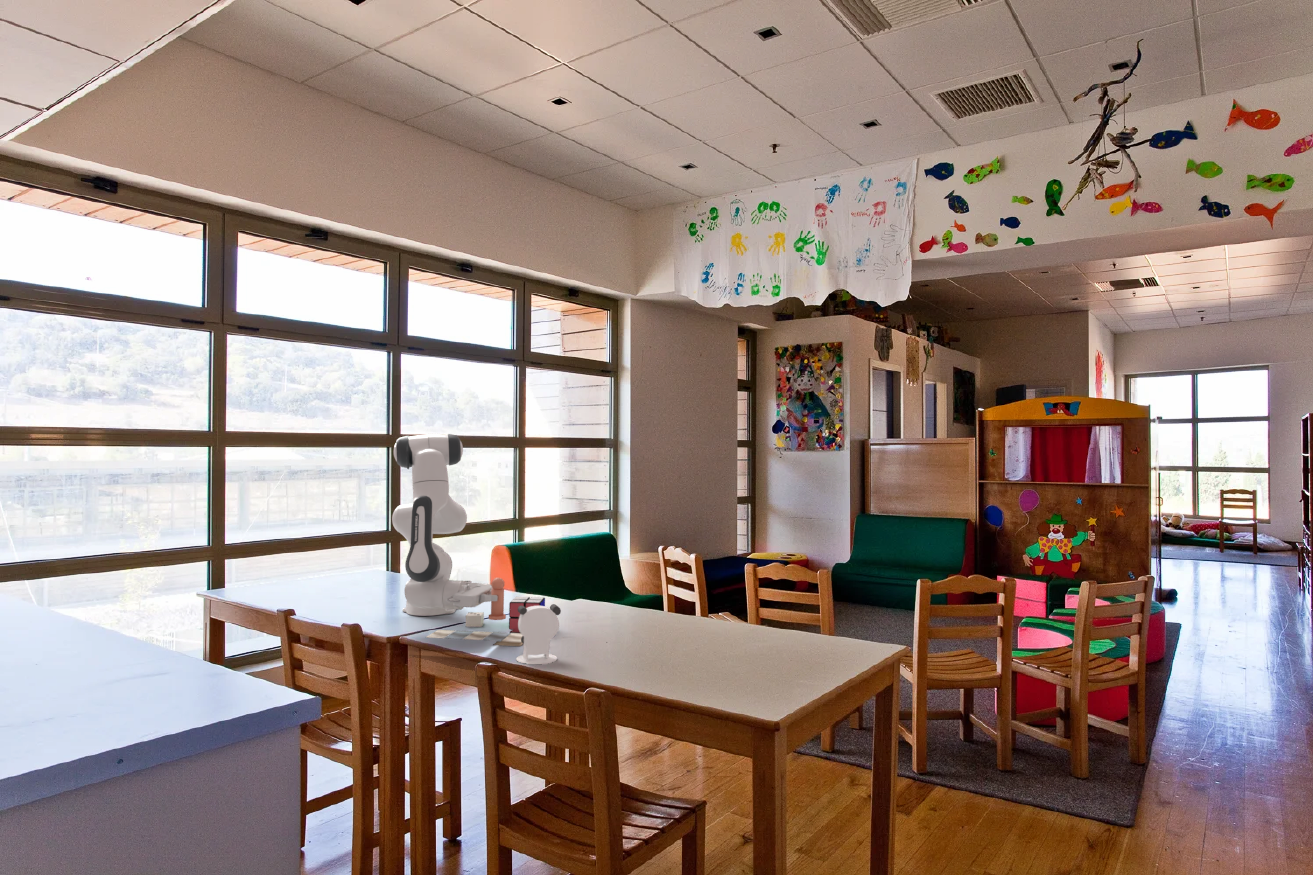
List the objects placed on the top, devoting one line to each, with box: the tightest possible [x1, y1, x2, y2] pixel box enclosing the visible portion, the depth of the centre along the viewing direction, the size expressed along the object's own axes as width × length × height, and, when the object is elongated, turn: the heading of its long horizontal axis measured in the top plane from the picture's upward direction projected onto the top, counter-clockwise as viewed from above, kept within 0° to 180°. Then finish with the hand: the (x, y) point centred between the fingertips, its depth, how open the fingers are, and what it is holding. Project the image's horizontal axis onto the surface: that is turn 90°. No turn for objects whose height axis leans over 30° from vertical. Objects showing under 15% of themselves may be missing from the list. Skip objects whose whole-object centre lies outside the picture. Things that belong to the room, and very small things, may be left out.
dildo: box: [488, 577, 507, 621], centre depth 247 cm, size 5×5×12 cm
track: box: [425, 629, 524, 647], centre depth 248 cm, size 11×30×1 cm, turn 83°
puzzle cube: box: [508, 596, 546, 633], centre depth 263 cm, size 10×10×10 cm
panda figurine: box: [515, 603, 562, 665], centre depth 227 cm, size 12×11×15 cm
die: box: [465, 611, 485, 628], centre depth 263 cm, size 5×5×5 cm
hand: (500, 596), depth 247 cm, fingers closed on dildo, 4 cm apart
